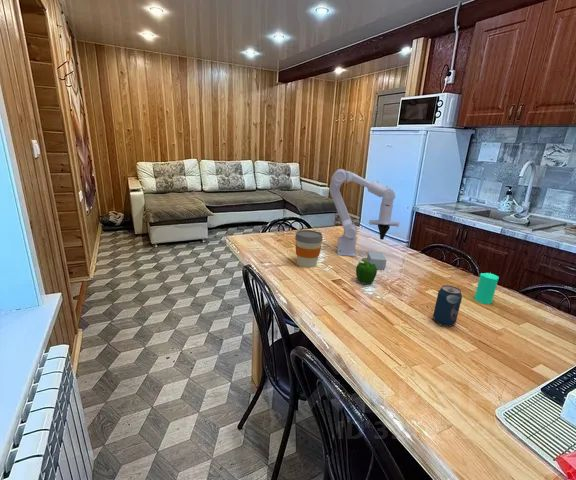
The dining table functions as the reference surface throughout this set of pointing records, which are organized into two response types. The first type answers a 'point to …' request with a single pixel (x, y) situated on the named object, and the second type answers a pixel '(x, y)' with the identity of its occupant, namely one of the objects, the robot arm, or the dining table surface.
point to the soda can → (447, 305)
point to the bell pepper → (366, 272)
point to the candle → (486, 288)
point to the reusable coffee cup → (308, 247)
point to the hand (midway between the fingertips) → (381, 239)
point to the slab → (376, 259)
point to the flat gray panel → (376, 267)
